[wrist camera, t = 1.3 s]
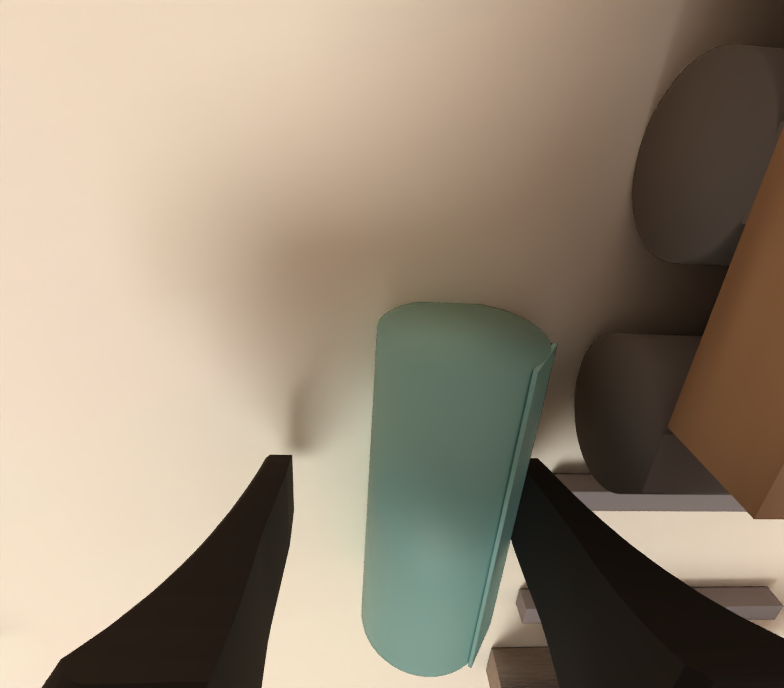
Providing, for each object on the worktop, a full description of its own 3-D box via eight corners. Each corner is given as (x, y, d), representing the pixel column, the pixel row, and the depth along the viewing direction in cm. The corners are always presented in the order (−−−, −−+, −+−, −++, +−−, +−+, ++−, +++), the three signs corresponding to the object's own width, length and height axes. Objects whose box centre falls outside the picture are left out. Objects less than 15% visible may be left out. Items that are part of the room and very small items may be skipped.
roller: (342, 338, 11) (520, 398, 9) (425, 289, 14) (569, 327, 12) (336, 628, 15) (454, 706, 13) (400, 542, 18) (502, 595, 16)
